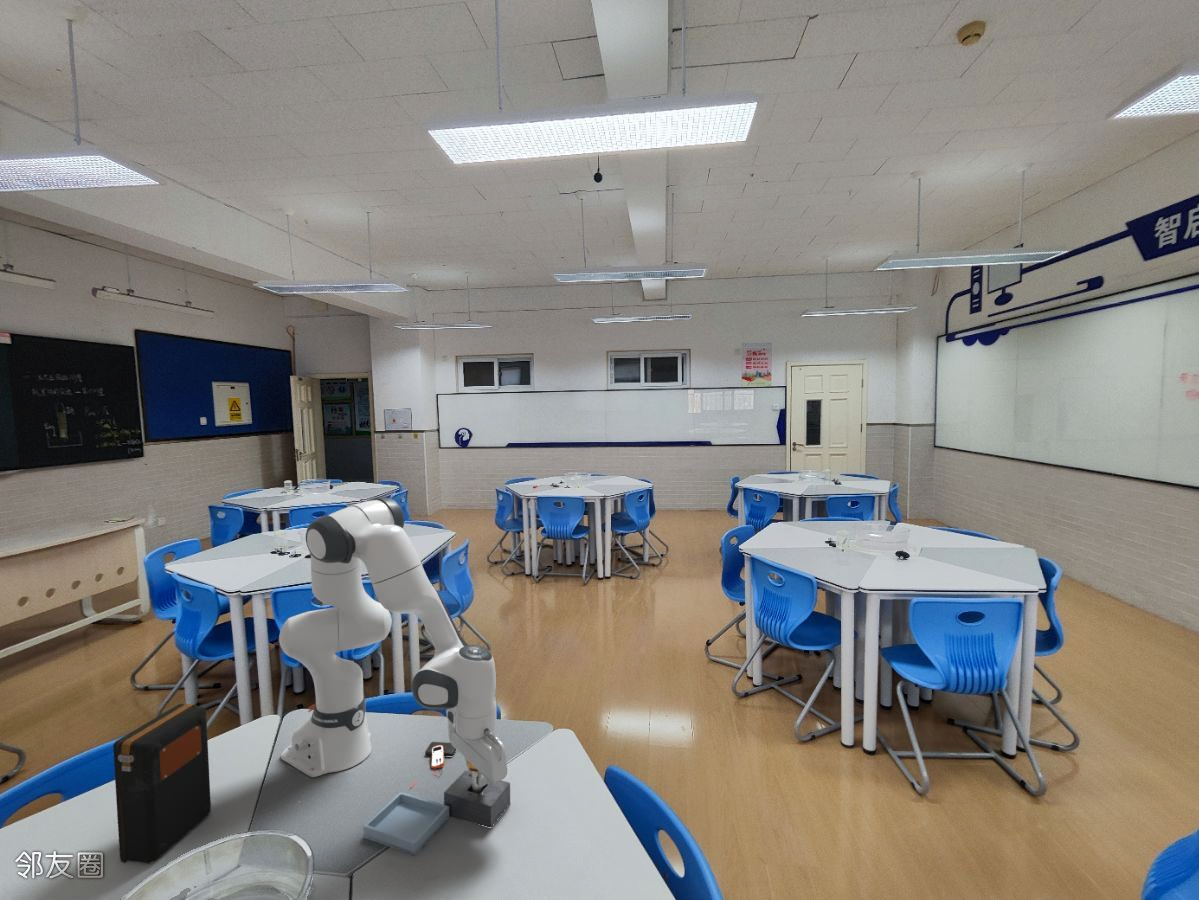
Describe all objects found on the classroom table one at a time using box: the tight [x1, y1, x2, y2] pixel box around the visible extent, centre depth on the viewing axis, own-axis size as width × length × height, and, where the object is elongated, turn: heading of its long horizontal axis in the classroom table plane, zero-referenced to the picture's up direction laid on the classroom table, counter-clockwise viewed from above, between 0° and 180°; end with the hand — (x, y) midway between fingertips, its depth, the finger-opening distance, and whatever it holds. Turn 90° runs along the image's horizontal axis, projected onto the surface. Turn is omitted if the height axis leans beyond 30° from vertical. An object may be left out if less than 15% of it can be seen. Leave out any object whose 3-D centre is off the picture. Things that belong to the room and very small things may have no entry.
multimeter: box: [410, 741, 457, 789], centre depth 137 cm, size 18×12×3 cm, turn 171°
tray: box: [362, 791, 450, 856], centre depth 117 cm, size 13×11×2 cm
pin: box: [467, 761, 483, 794], centre depth 122 cm, size 4×4×11 cm
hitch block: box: [443, 770, 511, 828], centre depth 122 cm, size 12×8×5 cm, turn 69°
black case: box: [112, 703, 212, 864], centre depth 114 cm, size 16×9×25 cm, turn 173°
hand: (477, 780), depth 122 cm, fingers closed on pin, 2 cm apart
